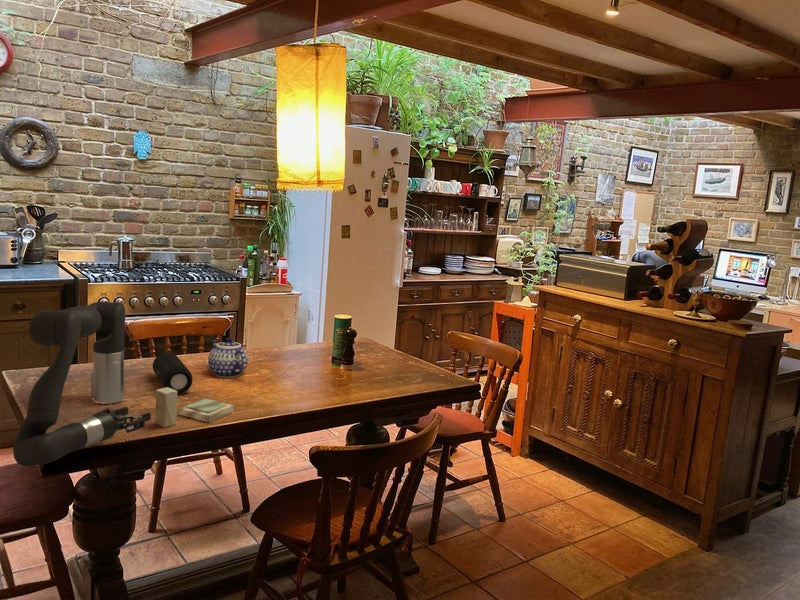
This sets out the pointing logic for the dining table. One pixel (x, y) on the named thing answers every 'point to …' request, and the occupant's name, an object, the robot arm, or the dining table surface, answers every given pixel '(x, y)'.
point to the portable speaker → (172, 372)
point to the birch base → (206, 410)
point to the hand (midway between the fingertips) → (138, 413)
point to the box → (166, 406)
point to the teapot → (227, 359)
